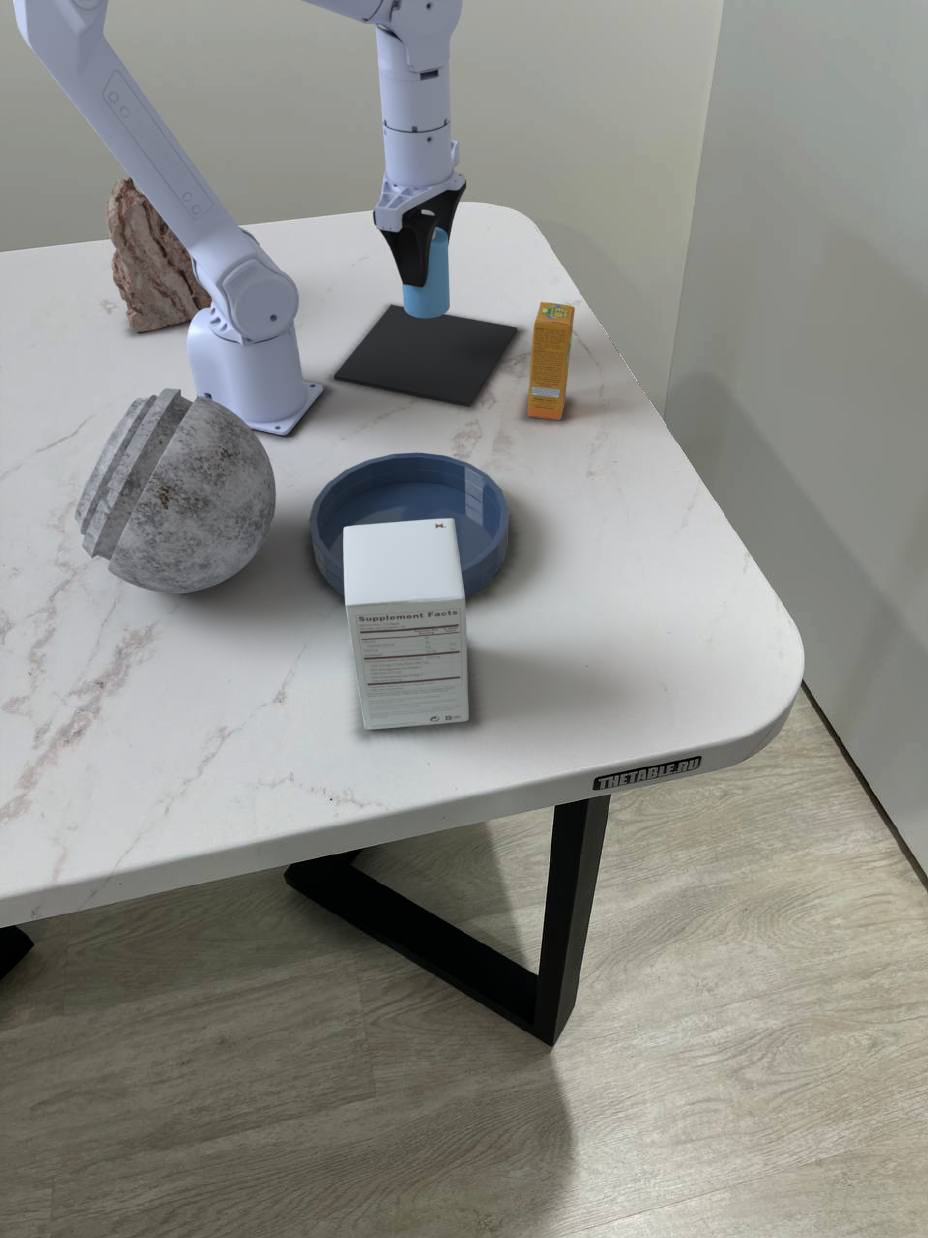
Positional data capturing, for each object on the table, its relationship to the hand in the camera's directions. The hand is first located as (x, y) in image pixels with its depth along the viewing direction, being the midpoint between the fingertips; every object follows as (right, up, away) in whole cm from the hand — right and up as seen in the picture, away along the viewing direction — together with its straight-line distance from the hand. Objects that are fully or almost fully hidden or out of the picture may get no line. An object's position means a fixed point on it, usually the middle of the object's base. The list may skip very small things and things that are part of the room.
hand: (424, 271), depth 94 cm
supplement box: (+11, -13, 0) cm, 17 cm away
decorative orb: (-17, -28, -14) cm, 36 cm away
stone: (-27, 0, +13) cm, 30 cm away
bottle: (0, -2, +3) cm, 4 cm away
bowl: (-1, -26, -12) cm, 29 cm away
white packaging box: (0, -37, -23) cm, 44 cm away
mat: (0, -6, +7) cm, 9 cm away
